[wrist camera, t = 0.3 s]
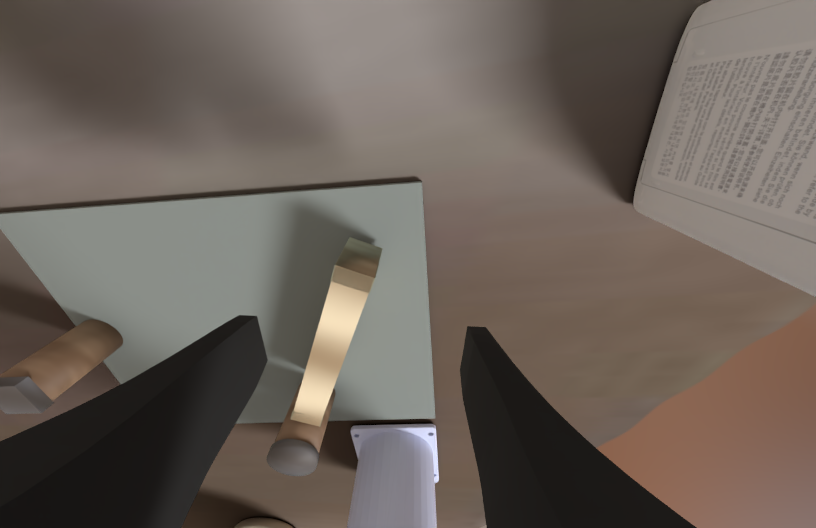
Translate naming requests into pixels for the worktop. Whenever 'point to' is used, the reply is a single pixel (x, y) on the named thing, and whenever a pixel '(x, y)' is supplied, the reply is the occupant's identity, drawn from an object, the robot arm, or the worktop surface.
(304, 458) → the brown grey short cylinder
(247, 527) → the teapot
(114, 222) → the mat
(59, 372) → the latch post
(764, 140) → the white upright rounded block
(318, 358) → the cream long bar
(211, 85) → the worktop surface
